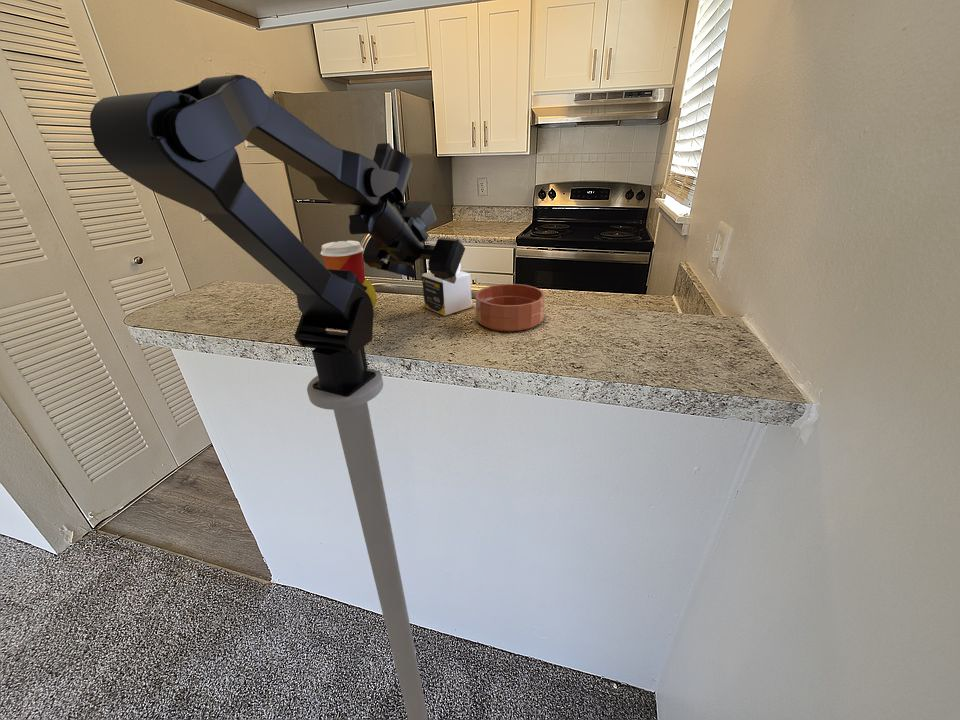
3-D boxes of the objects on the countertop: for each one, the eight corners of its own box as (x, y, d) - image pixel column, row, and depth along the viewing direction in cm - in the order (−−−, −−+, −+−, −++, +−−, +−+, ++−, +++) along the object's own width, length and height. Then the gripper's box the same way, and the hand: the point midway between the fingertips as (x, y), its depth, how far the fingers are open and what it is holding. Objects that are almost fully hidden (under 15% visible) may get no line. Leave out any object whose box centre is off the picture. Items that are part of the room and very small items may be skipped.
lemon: (375, 320, 78) (368, 280, 75) (346, 320, 79) (339, 280, 75) (381, 310, 83) (376, 272, 80) (355, 310, 83) (348, 272, 80)
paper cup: (334, 311, 83) (319, 242, 76) (372, 306, 85) (361, 238, 78) (334, 325, 76) (317, 250, 70) (375, 319, 78) (363, 246, 72)
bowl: (531, 337, 69) (532, 309, 67) (465, 327, 74) (464, 301, 72) (550, 312, 79) (552, 287, 77) (492, 304, 84) (491, 281, 82)
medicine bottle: (424, 307, 84) (418, 249, 78) (451, 299, 88) (447, 243, 82) (444, 316, 79) (440, 255, 73) (472, 307, 83) (470, 248, 77)
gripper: (455, 185, 61) (491, 246, 74) (364, 184, 69) (410, 238, 83) (429, 249, 58) (471, 299, 72) (337, 240, 67) (390, 286, 80)
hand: (434, 278), depth 77 cm, fingers open, 9 cm apart
